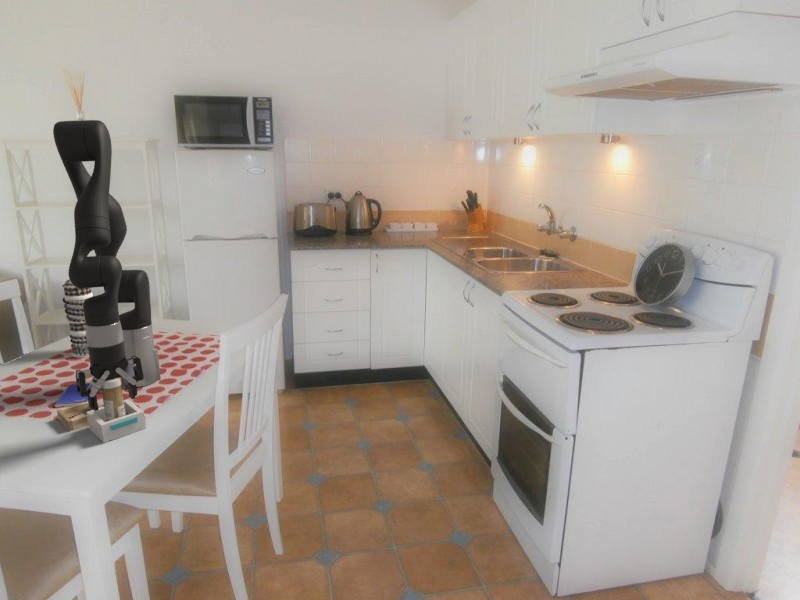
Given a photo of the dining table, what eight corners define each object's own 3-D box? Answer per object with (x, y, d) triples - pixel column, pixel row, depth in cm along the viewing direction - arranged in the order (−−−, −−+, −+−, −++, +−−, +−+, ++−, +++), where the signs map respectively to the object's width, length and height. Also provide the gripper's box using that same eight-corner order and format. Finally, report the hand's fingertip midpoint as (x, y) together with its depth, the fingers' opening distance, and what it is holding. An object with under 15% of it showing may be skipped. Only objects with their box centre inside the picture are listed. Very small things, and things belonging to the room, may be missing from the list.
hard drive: (88, 400, 147) (100, 382, 158) (54, 403, 145) (68, 384, 156) (89, 406, 147) (101, 387, 159) (55, 409, 145) (69, 390, 157)
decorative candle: (90, 359, 178) (79, 283, 171) (64, 357, 179) (52, 282, 172) (108, 349, 186) (99, 277, 180) (84, 347, 188) (73, 276, 181)
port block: (129, 415, 141) (127, 399, 140) (146, 428, 135) (144, 412, 134) (88, 428, 135) (86, 411, 133) (104, 443, 128) (102, 426, 127)
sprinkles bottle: (130, 428, 135) (123, 377, 131) (110, 435, 132) (102, 383, 128) (123, 422, 138) (117, 372, 134) (104, 428, 135) (96, 377, 131)
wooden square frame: (95, 408, 145) (93, 399, 144) (107, 419, 139) (106, 410, 138) (58, 419, 139) (56, 410, 138) (70, 431, 133) (68, 422, 132)
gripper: (130, 330, 136) (137, 390, 141) (66, 344, 126) (76, 408, 130) (143, 337, 131) (150, 399, 136) (77, 352, 121) (87, 419, 126)
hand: (114, 403), depth 133 cm, fingers open, 8 cm apart
